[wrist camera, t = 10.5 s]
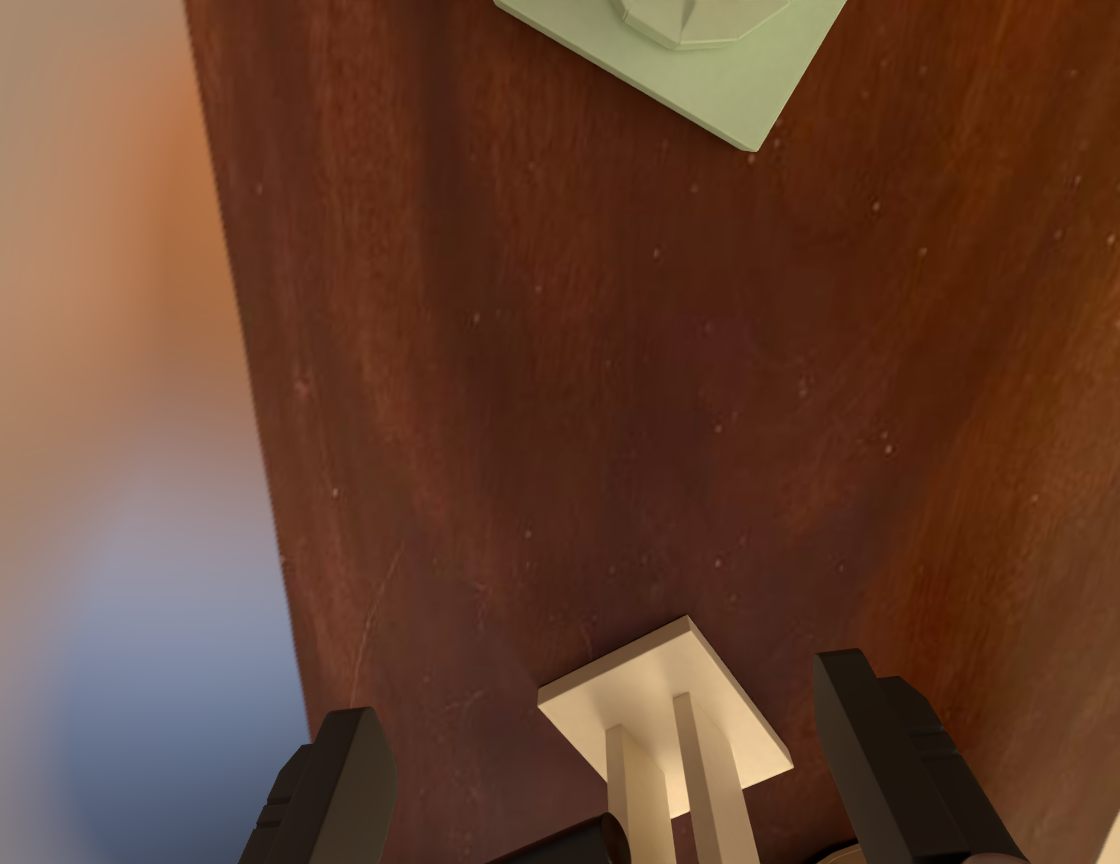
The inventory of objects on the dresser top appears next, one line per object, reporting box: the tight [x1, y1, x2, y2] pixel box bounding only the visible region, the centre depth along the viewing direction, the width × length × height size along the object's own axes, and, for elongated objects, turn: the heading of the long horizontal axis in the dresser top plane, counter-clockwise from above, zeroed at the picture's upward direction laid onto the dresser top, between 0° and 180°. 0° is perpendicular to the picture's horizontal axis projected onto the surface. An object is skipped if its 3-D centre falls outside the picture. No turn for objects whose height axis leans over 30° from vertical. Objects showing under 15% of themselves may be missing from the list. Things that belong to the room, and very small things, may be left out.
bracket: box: [537, 615, 794, 864], centre depth 30 cm, size 11×9×13 cm
